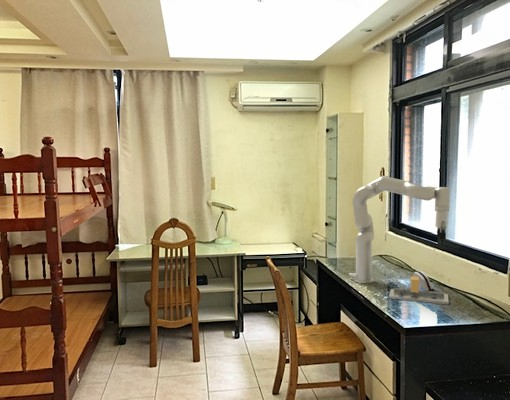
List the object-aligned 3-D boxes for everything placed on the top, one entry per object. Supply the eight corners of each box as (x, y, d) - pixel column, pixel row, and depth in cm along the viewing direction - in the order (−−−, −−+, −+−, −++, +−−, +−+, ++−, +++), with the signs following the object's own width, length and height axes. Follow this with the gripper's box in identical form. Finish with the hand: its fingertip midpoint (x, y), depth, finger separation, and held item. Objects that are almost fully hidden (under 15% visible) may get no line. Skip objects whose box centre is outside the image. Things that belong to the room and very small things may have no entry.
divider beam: (393, 294, 242) (393, 289, 242) (394, 290, 249) (394, 285, 249) (444, 299, 232) (444, 294, 232) (443, 295, 239) (444, 290, 239)
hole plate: (388, 298, 239) (389, 295, 239) (391, 291, 252) (391, 288, 252) (448, 304, 228) (448, 302, 228) (447, 296, 241) (447, 294, 241)
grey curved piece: (435, 290, 252) (430, 274, 251) (427, 293, 252) (422, 277, 251) (423, 282, 269) (418, 267, 268) (416, 284, 269) (411, 270, 268)
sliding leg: (410, 295, 239) (410, 279, 238) (411, 291, 246) (411, 276, 245) (418, 296, 237) (418, 280, 236) (418, 292, 244) (419, 276, 243)
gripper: (433, 206, 260) (432, 235, 262) (437, 210, 244) (436, 240, 245) (446, 207, 258) (445, 235, 260) (451, 210, 242) (450, 240, 243)
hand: (441, 237), depth 253 cm, fingers open, 9 cm apart
